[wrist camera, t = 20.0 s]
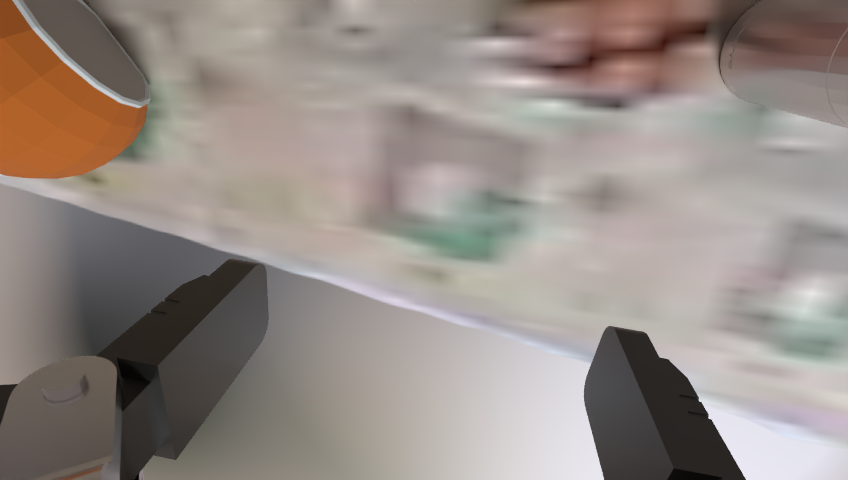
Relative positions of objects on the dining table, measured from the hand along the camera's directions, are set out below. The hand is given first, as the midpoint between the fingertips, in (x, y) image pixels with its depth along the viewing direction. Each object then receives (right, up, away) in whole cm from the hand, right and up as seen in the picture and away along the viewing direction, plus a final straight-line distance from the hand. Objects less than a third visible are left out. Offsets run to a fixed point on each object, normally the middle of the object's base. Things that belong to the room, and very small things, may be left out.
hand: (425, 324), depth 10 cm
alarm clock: (-37, +21, +38) cm, 57 cm away
